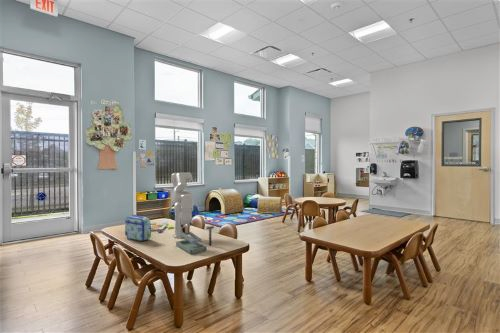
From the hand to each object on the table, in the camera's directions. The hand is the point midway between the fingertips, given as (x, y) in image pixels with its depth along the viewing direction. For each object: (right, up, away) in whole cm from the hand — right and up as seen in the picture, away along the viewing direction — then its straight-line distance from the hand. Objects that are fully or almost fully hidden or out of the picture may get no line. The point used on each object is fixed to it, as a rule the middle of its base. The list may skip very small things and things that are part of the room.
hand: (185, 231), depth 225 cm
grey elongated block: (+5, -3, -7) cm, 9 cm away
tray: (+5, -12, -7) cm, 14 cm away
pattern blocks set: (-44, -11, +56) cm, 72 cm away
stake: (+20, -11, +1) cm, 23 cm away
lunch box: (-48, -11, +19) cm, 53 cm away
